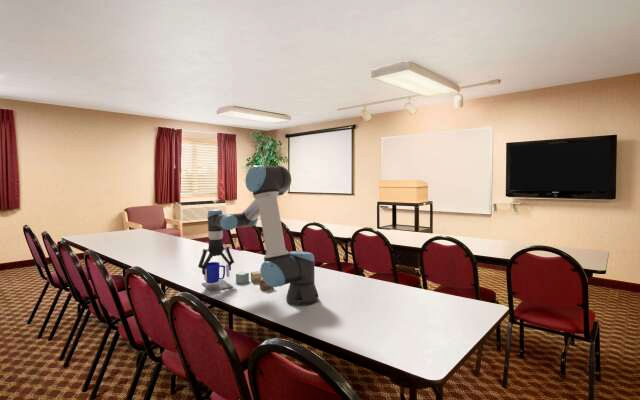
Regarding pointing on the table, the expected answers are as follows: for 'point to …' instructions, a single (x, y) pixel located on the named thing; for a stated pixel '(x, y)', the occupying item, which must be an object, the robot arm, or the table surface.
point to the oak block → (256, 276)
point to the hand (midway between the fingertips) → (217, 278)
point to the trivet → (217, 285)
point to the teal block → (242, 277)
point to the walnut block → (264, 285)
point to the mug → (214, 272)
